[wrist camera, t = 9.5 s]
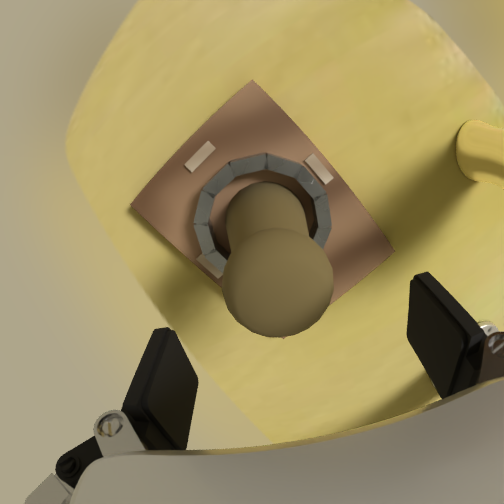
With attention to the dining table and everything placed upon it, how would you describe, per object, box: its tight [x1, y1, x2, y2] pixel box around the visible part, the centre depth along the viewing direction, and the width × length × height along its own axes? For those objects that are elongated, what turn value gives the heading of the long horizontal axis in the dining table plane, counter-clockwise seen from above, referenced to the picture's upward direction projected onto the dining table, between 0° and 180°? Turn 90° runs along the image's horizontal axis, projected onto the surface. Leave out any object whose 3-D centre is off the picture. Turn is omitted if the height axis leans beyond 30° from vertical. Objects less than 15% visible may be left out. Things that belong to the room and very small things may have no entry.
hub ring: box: [193, 152, 332, 273], centre depth 21 cm, size 10×10×2 cm
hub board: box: [130, 80, 395, 339], centre depth 23 cm, size 18×13×1 cm
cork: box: [222, 181, 334, 337], centre depth 17 cm, size 6×6×11 cm
